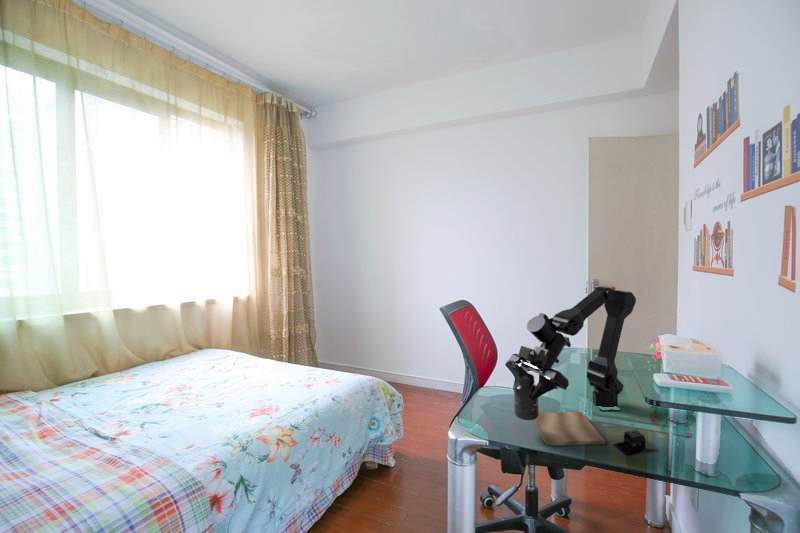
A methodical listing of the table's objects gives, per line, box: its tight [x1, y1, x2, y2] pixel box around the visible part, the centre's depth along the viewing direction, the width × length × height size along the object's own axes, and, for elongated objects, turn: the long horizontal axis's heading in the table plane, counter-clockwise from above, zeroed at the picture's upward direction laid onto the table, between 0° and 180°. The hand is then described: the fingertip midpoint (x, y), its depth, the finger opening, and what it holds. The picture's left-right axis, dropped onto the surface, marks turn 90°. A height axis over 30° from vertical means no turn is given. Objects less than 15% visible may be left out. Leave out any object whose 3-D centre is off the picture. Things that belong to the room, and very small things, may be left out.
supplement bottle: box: [513, 372, 540, 421], centre depth 109 cm, size 7×7×12 cm
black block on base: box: [612, 429, 659, 457], centre depth 101 cm, size 12×7×5 cm, turn 99°
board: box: [532, 411, 606, 446], centre depth 112 cm, size 16×16×1 cm
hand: (522, 394), depth 108 cm, fingers closed on supplement bottle, 7 cm apart
